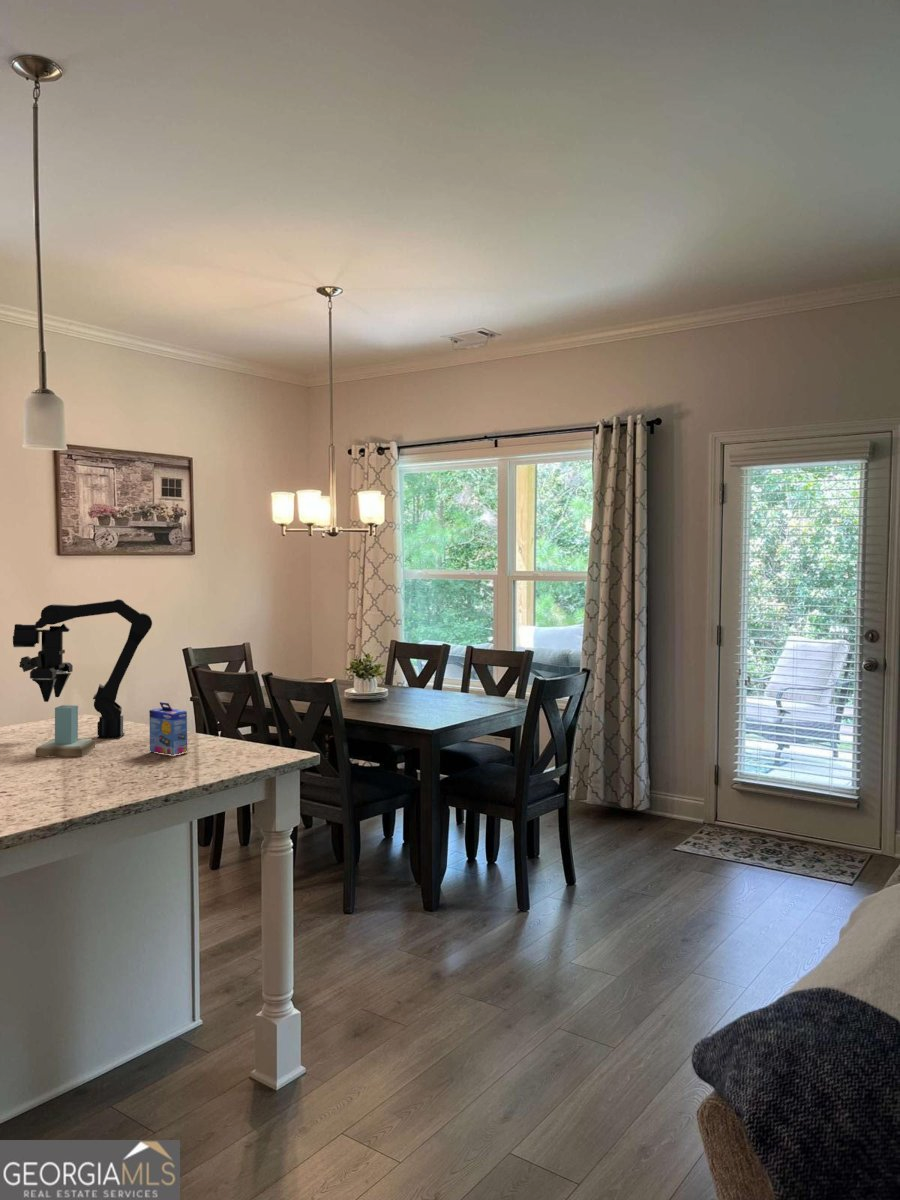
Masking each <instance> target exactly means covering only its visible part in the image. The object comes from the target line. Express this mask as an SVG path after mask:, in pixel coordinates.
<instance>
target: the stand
mask: <svg viewBox="0 0 900 1200" xmlns="http://www.w3.org/2000/svg"><path fill="white" fill-rule="evenodd" d="M93 748H94V749H95V748H96V739H93V738H78V741H77V742H75V743H73V744H55V738H52V739H50V740H48V741H46V742H44V743H43V744H41V745H39V746H38V747H37V748H35V757H36V756H39V757H38V758H46V757H45V756H49V758H52V757H51V756H61V757H60V758H65V757H66V756H76V757H75V758H77V757H80V756H81V757H80V758H82V757H83V755H84V756H86V755H87V754H88V753H90V752H91V751H92V750H94V749H93ZM86 753H87V754H86ZM66 758H67V757H66Z"/></svg>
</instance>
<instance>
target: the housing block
mask: <svg viewBox="0 0 900 1200" xmlns="http://www.w3.org/2000/svg"><path fill="white" fill-rule="evenodd" d="M54 739H55V744H73V743H75V742H77V741H78V739H79V705H69V704H68V705H66V704H63V705H62V704H61V705H59V706H56V707H55V708H54Z"/></svg>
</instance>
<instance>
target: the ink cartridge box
mask: <svg viewBox="0 0 900 1200" xmlns="http://www.w3.org/2000/svg"><path fill="white" fill-rule="evenodd" d="M159 705H160V707H161V708H160V707H159V708H152V709H149V752H150V751H151V752H158V753H164V754H171V755H174V754H179V753H182V752H186V751H187V752H188V713H187V711H186V710H181V709H173V708H172V707H171V705H170V704H169V702H159Z"/></svg>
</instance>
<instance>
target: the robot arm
mask: <svg viewBox="0 0 900 1200" xmlns="http://www.w3.org/2000/svg"><path fill="white" fill-rule="evenodd" d="M115 613H116V614H118V615H120V616H121V617H122V618H123V619H125V620H126V621H127V622H128V623H130V628H129V631H128V636H127V639H126V641H125V643H124V646H123V648H122V650H121V653H120V654H119V656H118V659H117V661H116V663H115V665H114V667H113V669H112V671H111V673H110V675H109V677H108V680H107V681H106V682H105V683H104V685H103V684H101V683H99V685H98V687H97V690H96V692H95V694H94V695H93V697H92V700H94V701H93V707H94V709H95V711H96V712H98V713H99V714H100V716H99V719H98V722H97V728H96V729H97V731H96V732H97V733H96V734H97V739H120V737H121V736H122V735H123V736H125V735H124V734H126V733H125V732H124V715H122V710H123V707H122V706H121V705H119V704H118V703H117V702H116V700H117V695H118V692H119V688H120V685H121V683H122V681H123V679H124V677H125V674H126V672H127V670H128V669H129V666H130V664H131V662H132V660H133V657H134V656H135V654H136V651H137V648H138V647H139V645H140V644H141V642H142V641H143V640H144V638H145V637H146V636H147V634H148V633H149V631H150V630H151V628H152V626H153V621H152V618H151V617H150V615H149V614H147V613H144V612H139V611H138V610H136V609H134V608H133V607H132V606H130V605H128V604H127V603H126V602H125V601H124V600H123V599H120V598H119V599H118V598H117V599H114V600H108V601H100V602H91V603H86V604H76V605H73V604H71V605H70V604H54V603H53V604H48V605H47V606H44V607H43V608H42V610H41V612H40V617H39V619H38V620H37V621H36V622H35V624H21V623H15V624H14V628H13V629H14V630H13V635H12V646H13V648H36V645H37V644H38V645H39V644H40V641H41V650H39V651H38V652H37V656H34V657H30V656H28V655H27V656H26V655H25V656H23V657H20V662H19V668H22V671H23V672H24V673H25V672H28V671H30V672H29V678H30V679H31V680H32V681H33V682H35V683H36V684H37V685H38V686H39V689H40V693H41V695H42V699H43V702H45V703H48V702H49V701H50V698H51V695H52V692H53V693H54V697H55V698H60V696H61V694H62V692H63V690H64V688H65V686H66V684H67V682H68V680H69V677H70V676H71V674H72V672H73V669H74V668H73V665H72V663H71V662H69V661H67V662H65V661H64V660H63V657H64V656H63V654H65V653H66V650H65V649H63V648H64V647H63V646H64V644H63V643H64V641H63V640H64V639H63V638H64V635H63V633H69V632H70V630H71V629H70V628H69V627H67V626H66V624H65V623H64V622H66V621H67V622H68V621H69V620H70V621H71V620H73V619H76V618H83V617H84V618H85V617H90V616H91V617H92V616H93V617H94V616H100V615H108V614H115ZM60 623H62V624H61V625H56V624H60ZM47 625H49V629H43V628H45V627H46V626H47ZM50 625H51V626H50ZM40 634H41V635H40ZM40 636H41V640H40ZM123 736H122V737H123Z"/></svg>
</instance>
